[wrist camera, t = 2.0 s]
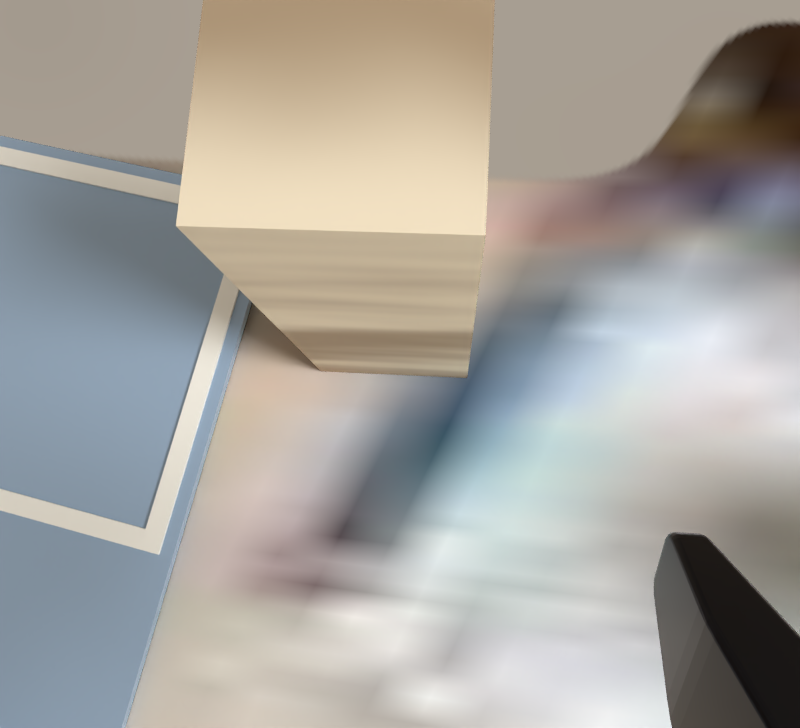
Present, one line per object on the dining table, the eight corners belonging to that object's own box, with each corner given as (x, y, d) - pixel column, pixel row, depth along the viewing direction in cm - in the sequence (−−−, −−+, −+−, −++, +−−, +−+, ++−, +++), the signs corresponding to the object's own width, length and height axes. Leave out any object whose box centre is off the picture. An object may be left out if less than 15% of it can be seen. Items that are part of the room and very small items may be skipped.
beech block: (466, 378, 22) (485, 235, 10) (320, 370, 22) (175, 226, 11) (472, 237, 23) (496, -46, 11) (331, 232, 23) (208, -45, 11)
